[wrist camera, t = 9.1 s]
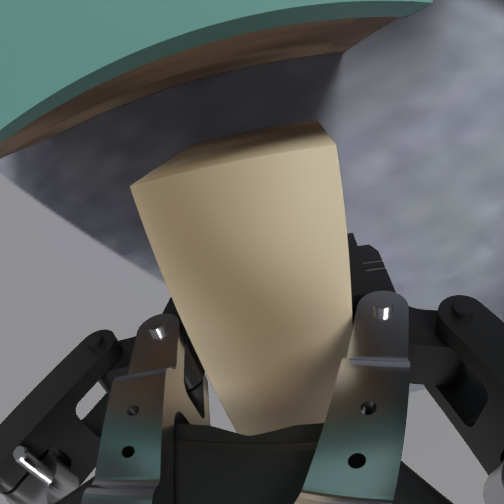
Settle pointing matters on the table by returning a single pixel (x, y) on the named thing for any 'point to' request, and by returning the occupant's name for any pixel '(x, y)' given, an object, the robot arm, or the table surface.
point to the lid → (131, 40)
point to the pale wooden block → (257, 267)
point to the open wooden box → (198, 70)
